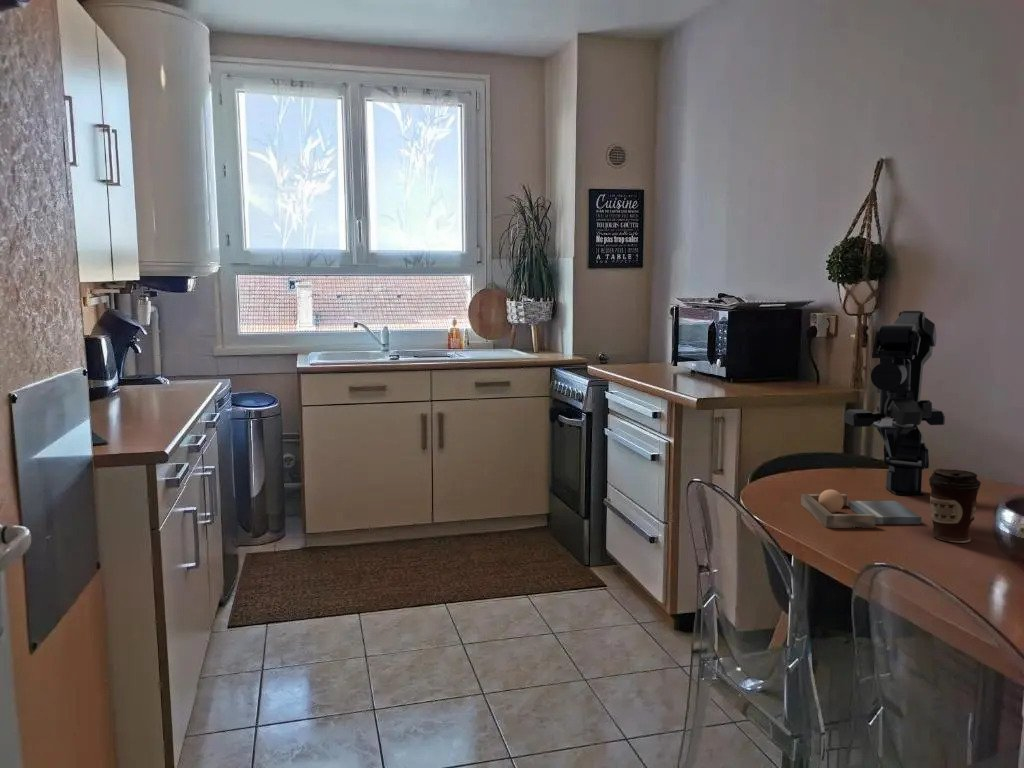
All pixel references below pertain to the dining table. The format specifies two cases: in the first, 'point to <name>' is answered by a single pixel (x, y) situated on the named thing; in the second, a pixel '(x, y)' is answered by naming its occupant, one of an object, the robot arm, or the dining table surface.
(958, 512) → the coffee cup
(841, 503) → the ball
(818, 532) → the dining table surface
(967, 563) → the dining table surface
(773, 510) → the dining table surface
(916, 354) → the robot arm
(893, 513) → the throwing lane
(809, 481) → the dining table surface
